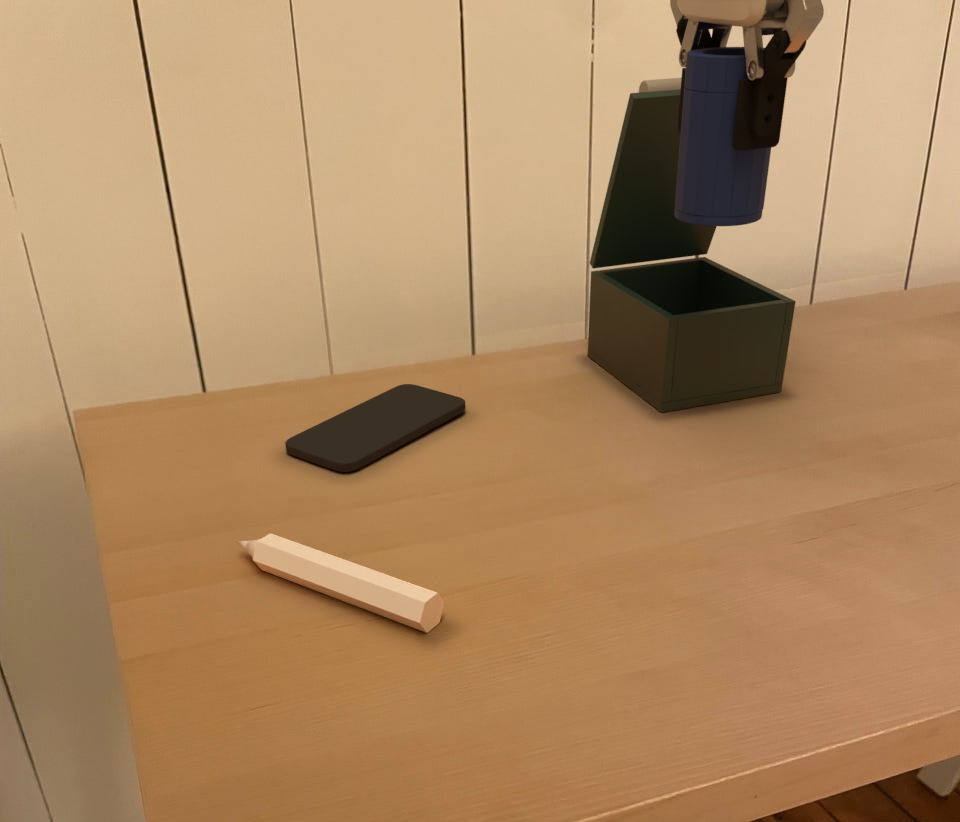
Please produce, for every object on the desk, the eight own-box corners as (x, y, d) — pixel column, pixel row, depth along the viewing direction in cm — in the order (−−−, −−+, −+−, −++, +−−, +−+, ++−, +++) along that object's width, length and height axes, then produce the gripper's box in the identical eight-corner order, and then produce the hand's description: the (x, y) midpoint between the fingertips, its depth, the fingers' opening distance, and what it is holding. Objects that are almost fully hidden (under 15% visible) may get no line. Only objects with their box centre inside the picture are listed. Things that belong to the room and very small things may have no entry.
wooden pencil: (241, 562, 67) (437, 633, 59) (218, 560, 65) (417, 633, 58) (249, 523, 66) (448, 590, 59) (226, 521, 65) (428, 589, 57)
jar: (715, 202, 74) (731, 44, 68) (779, 216, 70) (802, 50, 64) (656, 215, 71) (668, 52, 65) (720, 231, 67) (739, 59, 62)
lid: (765, 88, 80) (736, 53, 83) (634, 98, 77) (608, 62, 80) (707, 254, 93) (683, 219, 96) (592, 268, 90) (571, 232, 92)
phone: (277, 442, 78) (404, 381, 88) (279, 452, 79) (405, 390, 88) (346, 466, 75) (471, 400, 84) (348, 477, 75) (472, 409, 85)
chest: (781, 392, 87) (795, 301, 82) (661, 413, 84) (669, 319, 79) (696, 339, 98) (704, 256, 94) (587, 356, 95) (590, 271, 90)
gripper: (920, -226, 52) (854, 156, 62) (736, -193, 65) (706, 117, 76) (796, -227, 50) (749, 167, 60) (632, -193, 63) (617, 126, 74)
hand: (726, 136), depth 68 cm, fingers closed on jar, 6 cm apart
